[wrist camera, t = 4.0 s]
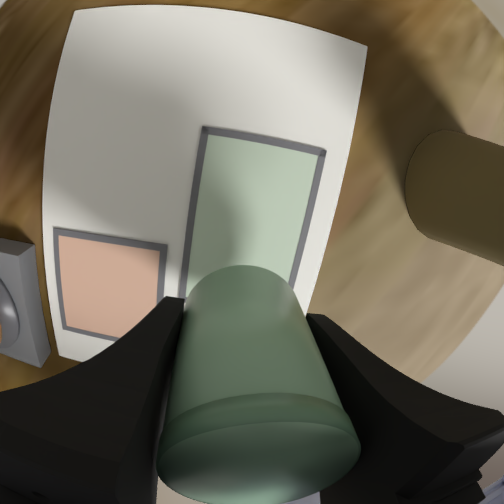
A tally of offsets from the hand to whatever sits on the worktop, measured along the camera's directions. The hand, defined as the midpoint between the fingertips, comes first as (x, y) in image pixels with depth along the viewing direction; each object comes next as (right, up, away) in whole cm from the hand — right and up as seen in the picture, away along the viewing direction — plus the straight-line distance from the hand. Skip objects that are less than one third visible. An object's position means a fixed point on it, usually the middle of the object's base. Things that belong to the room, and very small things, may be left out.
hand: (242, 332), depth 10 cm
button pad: (-15, 0, +3) cm, 15 cm away
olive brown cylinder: (+11, +6, +4) cm, 13 cm away
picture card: (-3, +4, +3) cm, 6 cm away
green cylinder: (0, +1, +1) cm, 2 cm away
